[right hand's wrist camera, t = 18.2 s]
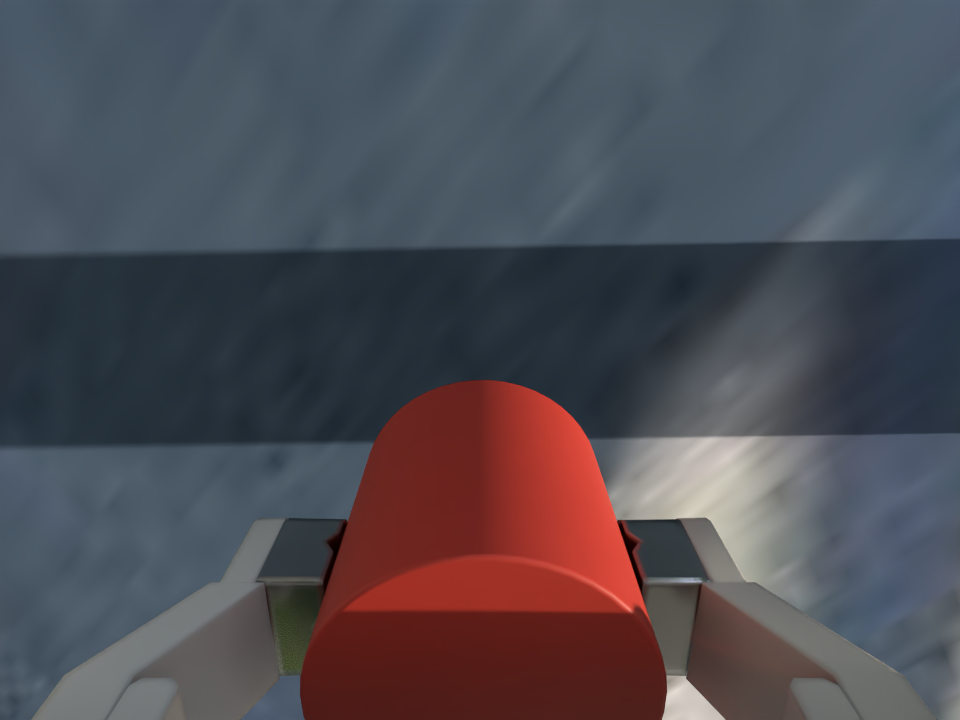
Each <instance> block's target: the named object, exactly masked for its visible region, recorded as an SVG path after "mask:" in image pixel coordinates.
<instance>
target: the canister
mask: <svg viewBox="0 0 960 720" xmlns="http://www.w3.org/2000/svg"><path fill="white" fill-rule="evenodd" d="M666 694H667V680H666V670H665V666H664V661H663V657H662V654H661V651H660V648H659V645H658V642H657V639H656V636H655V633H654V630H653V627H652V624H651V621H650V618H649V615H648V612H647V609H646V606H645V603H644V600H643V597H642V594H641V591H640V588H639V585H638V582H637V579H636V577H635V574H634V571H633V568H632V565H631V562H630V559H629V556H628V553H627V550H626V547H625V544H624V541H623V538H622V535H621V532H620V529H619V526H618V523H617V520H616V517H615V514H614V511H613V508H612V505H611V502H610V499H609V496H608V494H607V491H606V488H605V485H604V482H603V479H602V476H601V473H600V470H599V467H598V464H597V461H596V458H595V455H594V452H593V450H592V447H591V445H590V442H589V440H588V438H587V437H586V435H585V433H584V432H583V430H582V428H581V427H580V426H579V425H578V423H577V422H576V421H575V420H574V418H573V417H572V416H571V415H570V414H569V413H567V412H566V411H565V410H564V409H563V408H562V407H561V406H559V405H558V404H557V403H555V402H554V401H552V400H551V399H549V398H548V397H546V396H544V395H542V394H540V393H538V392H536V391H534V390H531V389H528V388H526V387H523V386H520V385H516V384H512V383H507V382H501V381H492V380H471V381H464V382H456V383H452V384H449V385H445V386H441V387H438V388H436V389H433V390H431V391H428V392H426V393H424V394H422V395H420V396H419V397H417V398H415V399H413V400H412V401H410V402H409V403H408V404H406V405H405V406H403V407H402V408H401V409H400V410H399V411H398V412H397V413H396V414H394V415H393V416H392V417H391V418H390V419H389V421H388V422H387V423H386V425H385V426H384V427H383V428H382V430H381V431H380V433H379V435H378V437H377V438H376V440H375V442H374V444H373V447H372V450H371V452H370V455H369V458H368V461H367V464H366V467H365V470H364V473H363V477H362V480H361V483H360V486H359V489H358V492H357V495H356V498H355V501H354V505H353V508H352V511H351V514H350V517H349V520H348V523H347V526H346V529H345V533H344V536H343V539H342V542H341V545H340V548H339V551H338V554H337V557H336V561H335V564H334V567H333V570H332V573H331V576H330V579H329V582H328V585H327V589H326V592H325V595H324V598H323V601H322V604H321V607H320V610H319V614H318V617H317V620H316V623H315V626H314V629H313V632H312V635H311V638H310V642H309V645H308V648H307V651H306V654H305V657H304V661H303V666H302V671H301V676H300V697H301V703H302V710H303V715H304V718H305V720H662V717H663V714H664V709H665V702H666Z"/></svg>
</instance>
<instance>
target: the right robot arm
mask: <svg viewBox="0 0 960 720" xmlns="http://www.w3.org/2000/svg"><path fill="white" fill-rule="evenodd" d="M347 523H348V522H347V520H346V519H307V518H289V519H287V518H259V519H257V520H256V521H254V522H253V524H252V525H251V527H250V529H249V531H248V533H247V534H246V536H245V538H244V540H243V542H242V543H241V545H240V547H239V549H238V550H237V552H236V554H235V556H234V558H233V559H232V561H231V563H230V565H229V566H228V568H227V570H226V572H225V574H224V575H223V577H222V579H221V581H220V582H212V583H209V584H207V585H206V586H204V587H203V588H201V589H200V590H198V591H196V592H195V593H193V594H192V595H190V596H188V597H187V598H185V599H184V600H182V601H181V602H179V603H177V604H176V605H174V606H173V607H171V608H169V609H168V610H166V611H165V612H163V613H162V614H160V615H158V616H157V617H155V618H154V619H152V620H151V621H149V622H147V623H146V624H144V625H143V626H141V627H139V628H138V629H136V630H135V631H133V632H132V633H130V634H128V635H127V636H125V637H124V638H122V639H120V640H119V641H117V642H116V643H114V644H113V645H111V646H109V647H108V648H106V649H105V650H103V651H102V652H100V653H98V654H97V655H95V656H94V657H92V658H90V659H89V660H87V661H86V662H84V663H83V664H81V665H79V666H78V667H76V668H75V669H73V670H71V671H70V672H68V673H67V674H65V675H64V676H63V677H62V679H61V680H60V681H59V683H58V684H57V686H56V687H55V688H54V690H53V691H52V692H51V694H50V695H49V696H48V698H47V699H46V700H45V702H44V703H43V704H42V706H41V707H40V708H39V710H38V711H37V712H36V714H35V715H34V716H33V718H32V719H31V720H240V719H241V718H242V717H243V716H244V715H245V714H246V713H247V712H248V711H249V710H250V709H251V708H252V707H253V706H254V705H255V704H256V703H257V702H258V701H259V700H260V699H261V697H262V696H263V695H264V694H265V693H266V692H267V691H268V690H269V689H270V688H271V687H272V686H273V685H274V684H275V683H276V682H277V681H278V680H279V676H292V675H301V671H302V666H303V661H304V657H305V654H306V651H307V648H308V645H309V642H310V638H311V635H312V632H313V629H314V626H315V623H316V620H317V617H318V614H319V610H320V607H321V604H322V601H323V598H324V595H325V592H326V589H327V585H328V582H329V579H330V576H331V573H332V570H333V567H334V564H335V561H336V557H337V554H338V551H339V548H340V545H341V542H342V539H343V536H344V533H345V529H346V526H347ZM617 523H618V526H619V529H620V532H621V535H622V538H623V541H624V544H625V547H626V550H627V553H628V556H629V559H630V562H631V565H632V568H633V571H634V574H635V577H636V579H637V582H638V585H639V588H640V591H641V594H642V597H643V600H644V603H645V606H646V609H647V612H648V615H649V618H650V621H651V624H652V627H653V630H654V633H655V636H656V639H657V642H658V645H659V648H660V651H661V654H662V657H663V661H664V666H665V670H666V675H673V676H686V679H687V680H688V681H689V682H690V683H691V684H692V685H693V686H694V687H695V688H696V689H697V690H698V691H699V692H700V693H701V694H702V695H703V696H704V697H705V698H706V700H707V701H708V702H709V703H710V704H711V705H712V706H713V707H714V708H715V709H716V710H717V711H718V712H719V713H720V714H721V715H722V716H723V717H724V718H725V719H726V720H937V719H936V718H935V716H934V715H933V714H932V712H931V711H930V710H929V708H928V707H927V706H926V704H925V703H924V702H923V700H922V699H921V698H920V696H919V695H918V694H917V692H916V691H915V690H914V689H913V687H912V686H911V685H910V683H909V682H908V681H907V679H906V678H905V677H904V676H903V675H902V674H900V673H898V672H897V671H895V670H894V669H892V668H891V667H889V666H887V665H886V664H884V663H883V662H881V661H879V660H878V659H876V658H875V657H873V656H871V655H870V654H868V653H867V652H865V651H863V650H862V649H860V648H859V647H857V646H856V645H854V644H852V643H851V642H849V641H848V640H846V639H844V638H843V637H841V636H840V635H838V634H836V633H835V632H833V631H832V630H830V629H829V628H827V627H825V626H824V625H822V624H821V623H819V622H817V621H816V620H814V619H813V618H811V617H809V616H808V615H806V614H805V613H803V612H801V611H800V610H798V609H797V608H795V607H794V606H792V605H790V604H789V603H787V602H786V601H784V600H782V599H781V598H779V597H778V596H776V595H774V594H773V593H771V592H770V591H768V590H767V589H765V588H763V587H762V586H760V585H759V584H757V583H754V582H746V581H745V579H744V577H743V576H742V574H741V572H740V571H739V569H738V567H737V565H736V564H735V562H734V560H733V559H732V557H731V555H730V553H729V552H728V550H727V548H726V546H725V545H724V543H723V541H722V540H721V538H720V536H719V534H718V533H717V531H716V529H715V528H714V526H713V524H712V522H711V521H710V520H709V519H707V518H678V519H668V520H618V521H617Z"/></svg>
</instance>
